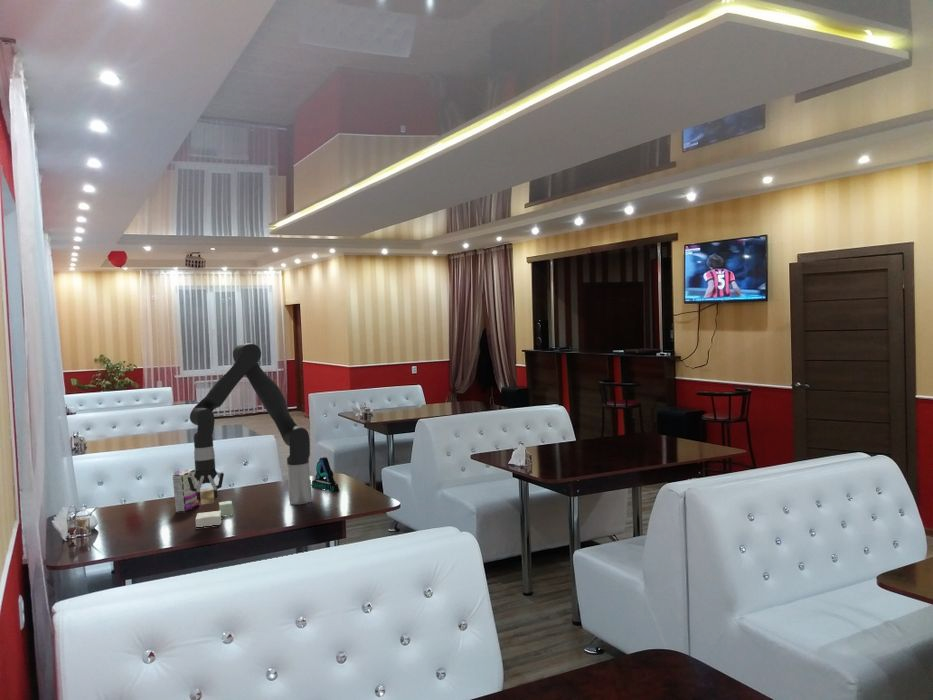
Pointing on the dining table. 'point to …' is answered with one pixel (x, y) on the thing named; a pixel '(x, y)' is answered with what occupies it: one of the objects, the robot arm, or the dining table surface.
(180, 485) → the candy bar box
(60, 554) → the dining table surface
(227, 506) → the sage cube
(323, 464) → the decorative sign
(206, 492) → the oak cube
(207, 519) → the cream block
